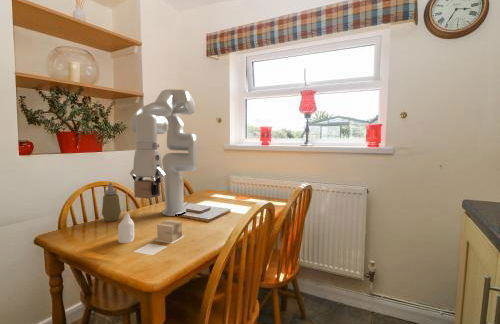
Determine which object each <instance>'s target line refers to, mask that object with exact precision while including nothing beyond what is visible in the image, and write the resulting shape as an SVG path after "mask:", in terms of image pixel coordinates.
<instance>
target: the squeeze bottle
mask: <svg viewBox="0 0 500 324" xmlns="http://www.w3.org/2000/svg"><path fill="white" fill-rule="evenodd" d="M104 193H105V194H104V195H103V196H102V205H101V206H102V210H101V214H102V217H103V219H104V221H105V222H108V223H109V222H116V221H118V220H119V219H120V216H121V212H122V211H121V202H120V197H119V195H118V194H117V190H116V189H114V186H113V183H112V182H109V183H108V186H107V190H105V191H104Z"/></svg>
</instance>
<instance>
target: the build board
mask: <svg viewBox="0 0 500 324" xmlns="http://www.w3.org/2000/svg"><path fill="white" fill-rule="evenodd" d="M183 238H185V235H182V237H180V238H179V239H177V240H175V241H174V242H166V241H160V240H157V238H156V239H154V241H156V242H161V243H166V244H174V243H177V242H178V241H180V240H181V239H183ZM166 248H168V246H166V245H161V244H155V243H147V244H145V245H143V246H141V247H139V248H137V249H135V250H134V251H133V253H137V254H142V255H148V256H152V257H153V256H154V255H157V253H160V252H161V251H162V250H165V249H166Z"/></svg>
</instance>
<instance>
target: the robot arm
mask: <svg viewBox="0 0 500 324" xmlns="http://www.w3.org/2000/svg"><path fill="white" fill-rule="evenodd" d="M195 111H196V103H195V100H194V98H193V96H192V94H191V93H190V92H189V91H187V90H186V89H176V88H175V89H172V88H171V89H164V90H162V91H161V92H160V93H159V94H158V96H157V98H156V100H155V101H154V102H153V101H152V102H151V103H149V104H146V105H143V106H141V107H139V108H138V109H137V110H136V111H135V112H134V114H133V115H132V117H131V119H130V129H131V131H132V132H133V133H135V147H136V148H135V149H136V150H135V151H134V156H133V168H132V170H131V171H130V172H129V174H130V176H131V177H132V180H133V181H139V180H144V178H150V180H152V183H153V185H152V195H157V194H159V184H160V185H161V183H162V181H163V179H164V209H162V210H161V214H162V215H163V216H169V217H173V216H175V214H176V213H178V212H182V211H183V210H184V208H185V206H188V204H189V203H188V201H185V200H184V199H185V198H184V178H183V175H182V174H180V172H195V171H196V169H197V166H198V153H199V152H198V147H199V146H198V145H199V143H198V142H199V141H198V136H197V134H195V133H194V132H185V123H184V122H183V120H182V118H180V116H179V115H182V116H183V115H187V116H189V115H193V114H194V113H195ZM164 134H166V147H167V149H168V150H170V151H176V152H169V153H166V154H164V155H163V157H161V153H160V150H158V149H159V148H160V144H159V143H158V135H164ZM177 151H178V152H177ZM179 151H180V152H179ZM184 201H185V202H184Z"/></svg>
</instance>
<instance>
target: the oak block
mask: <svg viewBox="0 0 500 324" xmlns="http://www.w3.org/2000/svg"><path fill="white" fill-rule="evenodd" d="M156 226H157V228H156V231H157V233H156V235H157V237H156V239H157V240H160V241H166V242H174V241H175V240H177V239H179V238H180V237H182V236H183V221H180V220H172V219H166V220H164V221H162V222H160V223H157V225H156ZM179 240H180V239H179ZM160 241H159V242H160ZM166 242H165V243H166ZM174 243H175V242H174Z"/></svg>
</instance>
